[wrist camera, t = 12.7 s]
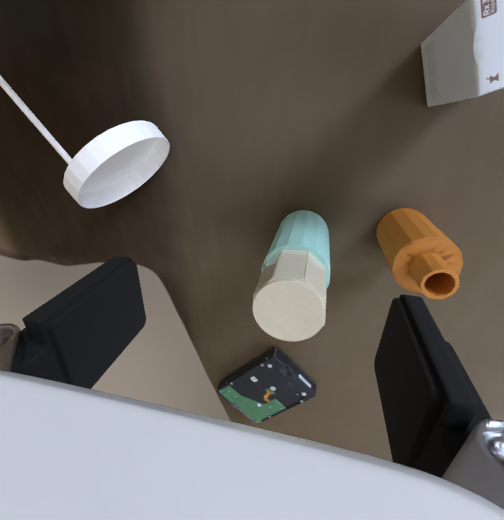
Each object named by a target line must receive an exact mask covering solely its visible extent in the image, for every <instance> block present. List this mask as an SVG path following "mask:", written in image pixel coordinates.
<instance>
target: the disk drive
mask: <svg viewBox="0 0 504 520" xmlns="http://www.w3.org/2000/svg"><path fill="white" fill-rule="evenodd" d="M217 393H219V394H220V395H221V396H222V397H223V398H224V399H225V400H227V401H228V402H229V403H230V404H231V405H232V406H233V407H234V408H236V409H238V410H240V411H241V413H242V412H243V414H244V415H246V416H247V417H248V418H249V419H250V420H252V421H251V422H252V423H255V422H257V423H259V422H261V421H265V420H267V419H269V418H270V417H273V416H275V415H277V414H279V413H281V412H284V411H286V410H287V409H290V408H292V407H294V406H296V405H298V404H300V403H302V402H305V401H307V400H309V399H311V398H313V397H314V396H316V384H315V383H313V381H312V380H311V379H310V378H309V377H308V376H307V375H306V374H305V373H303V372H302V371H301V370H300V369H299V368H298V367H297V366H296V365H295V364H294V363H293V362H292V361H291V360H290V359H289V358H288V357H286V355H284V354H283V353H282V352H281V351H280V350H279V349H278V348H277V347H275V348H274V349H271V350H269V351H268V352H266V353H265V354H263V355H261V356H260V357H258V358H257V359H255V360H253V361H252V362H250V363H249V364H247V365H246V366H244V367H242V368H241V369H239V370H237V371H236V372H234V373H233V374H231V375H229V376H228V377H226V378H225V379H223V380H222V381H220V384H219V386H218V389H217Z"/></svg>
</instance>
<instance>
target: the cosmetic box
mask: <svg viewBox="0 0 504 520" xmlns="http://www.w3.org/2000/svg"><path fill="white" fill-rule="evenodd" d="M421 51H422V61H423V70H424V79H425V88H426V98H427V106H428V107H431V106H436V105H441V104H446V103H452V102H456V101H461V100H465V99H468V98H476V97H480V96H482V95H485V94H487V93H490V92H493V91H496V90H499V89H502V88H504V0H465V1H464V2H463V3H462V4H461V5H460V6H459V7H458V8H457V9H456V10H455V11H454V12H453V13H452V14H451V15H450V16H449V17H448V18H447V19H446V20H445V21H444V22H443V23H442V24H441V25H440V26H439V27H437V28H436V29H435V30H434V31H433V32H432V33H431V34H430V35H429V36H428V37H427V38H426V39H425V40H424V41H423V42H422V43H421Z"/></svg>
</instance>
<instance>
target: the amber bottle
mask: <svg viewBox="0 0 504 520" xmlns="http://www.w3.org/2000/svg"><path fill="white" fill-rule="evenodd" d="M376 235H377V239H378V242H379V245H380V247H381V249H382V251H383V254H384V256H385V258H386V260H387V263H388V265H389V267H390V269H391V272H392V274H393V276H394V278H395V280H396V281H397V282H398V283H399V284H400V285H401V286H402V287H403V288H405V289H407V290H410V291H412V292H416V293H423V294H424V295H425V296H426V297H429V298H432V299H444V298H447V297H449V296H451V295H452V294H454V293H455V292H456V290H457V289H458V287H459V278H458V275H459V274H460V272H461V268H462V264H463V259H462V255H461V251H460V250H459V249H458V248H457V247H456V245H455V244H454V243H453V242H452V241H451V240H450V239H449V238H447V237H446V236H445V235H444V234H443V233H442V232H441V231H440V230H439V229H438V228H437V227H436V226H435V225H434V224H433V223H431V222H430V221H429V220H428V219H427V218H426V217H425V216H424V215H423V214H422V213H421V212H419V211H417V210H414V209H411V208H400V209H396V210H393V211H391V212H389V213H388V214H386V215H385V216H384V217H383V218H382V219H381V221H380V222H379V224H378V226H377V231H376Z"/></svg>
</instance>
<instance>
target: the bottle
mask: <svg viewBox="0 0 504 520" xmlns="http://www.w3.org/2000/svg"><path fill="white" fill-rule="evenodd" d="M281 250H307V251H309V252H310V253H311V254H312V255H313V256H314V257H315V258H316V259H317V260H318V261H320V262H321V263H322V264H323V265H324V266H325V267H326V289H327V287H328V285H329V283H330V252H329V231H328V227H327V225H326V223H325V221H324V220H323V218H322V217H320V216H319V215H318V214H316V213H314V212H312V211H308V210H299V211H295V212H293V213H290V214H289V215H287V216H286V217H285V218H284V219H283V221H282V222H281V224H280V226H279V229H278V231H277V233H276V236H275V238H274V240H273V242H272V245H271V247H270V249H269V252H268V254H267V256H266V259H265V261H264V263H263V266H262V272H263V270H264V267H265V265H266V264H267V263H268V262H269V261H270V260H271V259H272V258H273V257H274V256H276V255H277V254H278V253H279V252H280V251H281Z"/></svg>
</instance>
